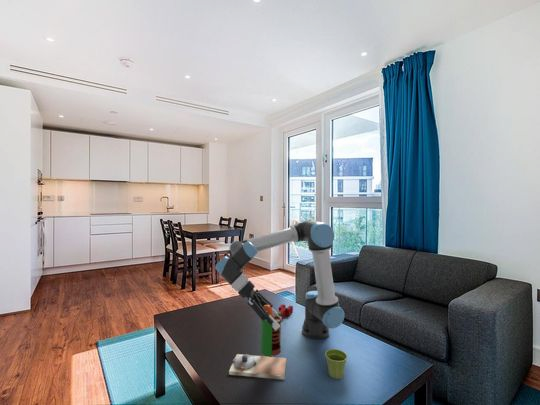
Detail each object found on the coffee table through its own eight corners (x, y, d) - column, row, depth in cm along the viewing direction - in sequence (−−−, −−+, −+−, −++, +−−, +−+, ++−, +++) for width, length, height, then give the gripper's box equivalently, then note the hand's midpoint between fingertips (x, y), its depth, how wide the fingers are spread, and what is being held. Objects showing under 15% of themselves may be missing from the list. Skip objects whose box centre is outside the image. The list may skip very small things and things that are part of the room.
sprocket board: (286, 361, 129) (286, 351, 129) (284, 379, 117) (284, 369, 116) (236, 357, 133) (236, 347, 133) (229, 374, 120) (228, 364, 120)
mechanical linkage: (282, 310, 187) (282, 303, 187) (292, 312, 185) (292, 304, 185) (274, 320, 173) (274, 312, 172) (285, 322, 170) (285, 314, 170)
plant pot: (331, 365, 127) (331, 346, 126) (350, 373, 121) (350, 353, 120) (321, 375, 119) (321, 355, 119) (341, 384, 113) (341, 364, 113)
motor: (278, 358, 118) (279, 311, 118) (258, 355, 119) (258, 309, 120) (282, 346, 128) (282, 302, 128) (263, 344, 129) (263, 301, 129)
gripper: (242, 284, 135) (275, 319, 133) (231, 299, 115) (269, 341, 113) (253, 274, 134) (286, 309, 132) (243, 287, 114) (282, 329, 112)
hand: (278, 324), depth 123 cm, fingers closed on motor, 7 cm apart
